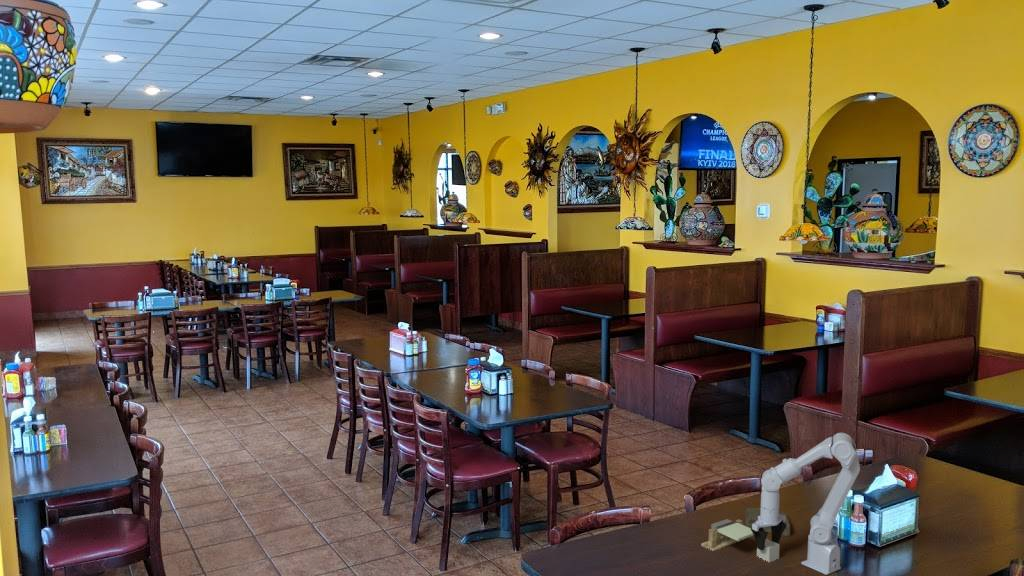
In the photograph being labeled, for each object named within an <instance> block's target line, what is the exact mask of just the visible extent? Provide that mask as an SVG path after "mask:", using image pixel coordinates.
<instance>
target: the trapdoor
mask: <svg viewBox="0 0 1024 576" xmlns="http://www.w3.org/2000/svg"><path fill="white" fill-rule="evenodd" d="M732 523H734V522H733V520H731V519H728V518H725V519H724V520H720V521H717V522H713V523H711V526H710V529H717V528H720V527H723V526H726V525H729V524H732ZM717 532H719V533H721V535H723V534H724V535H726V536H728V537H730V538H732V539H735V540H737V541H739V540H742V539H743V540H744V539H747V538H748V539H749V538H750V537H754V535H753V533H752V531H751V528H749V527H747V526H746V525H744V524H743V525H742V524H739V523H735V524H732V525H729V526H726V527H723V528H720V529H717ZM743 540H742V541H743ZM739 542H740V541H739Z"/></svg>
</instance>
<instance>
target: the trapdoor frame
mask: <svg viewBox="0 0 1024 576" xmlns="http://www.w3.org/2000/svg"><path fill="white" fill-rule="evenodd" d="M743 522H744V521H743V520H742V519H739V518H738V519H736V520H735V522H733V523H732V524H735V523H739V524H742V525H744V523H743ZM732 524H729V525H732ZM729 525H726V526H729ZM726 526H723V527H726ZM723 527H720V528H723ZM720 528H717V529H720ZM717 529H712V528H709V529H708V541H705V542H702V543H701V545H700V546H701V547H702V548H704V549H707V548H708V549H707V550H709V549H710V550H709V551H711V550H712V551H711V552H713V551H717V550H720V549H722V547H723V548H725V546H726V547H727V546H730V545H731V546H732V545H734V544H736V542H737V543H739V542H742V541H743V540H744V539H742V541H741V540H739V541H737V540H735V539H732V538H730V537H728V536H726V535H724V534H721V533H719V532H717Z"/></svg>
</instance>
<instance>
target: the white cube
mask: <svg viewBox="0 0 1024 576" xmlns="http://www.w3.org/2000/svg"><path fill="white" fill-rule="evenodd" d="M757 556H758V557H759V558H758V557H757ZM756 557H757V558H758V559H760V558H762V559H763V561H765V560H766V561H765V562H767V561H768V562H767V563H772V562H774V561H776V559H777V560H779V559H780V543H779V544H777V543H775V542H773V541H772V540H770V539H768V538H766V540H765V546H764V550H760V549H758V548H757V547H756ZM762 559H761V560H762ZM771 561H772V562H771Z"/></svg>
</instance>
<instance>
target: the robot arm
mask: <svg viewBox="0 0 1024 576" xmlns="http://www.w3.org/2000/svg"><path fill="white" fill-rule="evenodd" d="M857 451H858V450H857V446H856V444H855V441H854V440H853V438H852V437H851V436H850V435H849V434H847V433H845V432H837V433H836V434H834V435H833V436H829V437H827V438H826V439H824V440H823V441H822V442H820V443H818V444H816V445H815V446H814V447H812V448H811V449H809V450H808V451H806V452H805V453H803V454H802V455H800V456H798V457H797V458H791V457H789V458H788V459H787V458H783V459H782V462H781V463H779V464H778V465H776V466H771V467H770V469H767V470H765V471H764V472H763V473H762V476H761V480H760V481H761V492H760V508H761V510H760V516H758V520H757V521H756V522H755V523H753V524H752V527H751V531H752V533H753V537H754V540H755V545H756V549H757V548H758V549H760V550H764V546H765V540H766V539H767V537H768V534H769V533H768V532H766V531H764V529H763V528H764V527H767V526H771V532H772V533H771V541H773V542H775V543H777V544H780V540H781V538H782V533H783V531H784V530H785V528H786V527H787V524H785V523H783V522H785V519H786V517H787V515H786V516H785V515H782V514H779V511H780V492H779V491H780V488H781V486H782V485H781V484H785V483H787V482H788V481H791V480H792V479H794V478H796V477H798V476H799V475H801V474H802V470H803V468H805V467H807V466H808V465H810V464H812V463H814V462H816V461H818V460H820V459H822V458H827V459H831V460H832V459H833V458H834V457H835V459H836V460H837V461H838V462H839V463H840V465H841V467H842V468H841V470H840V472H839V474H838V476H837V478H836V479H835V482H834V483H833V485H832V488H831V490H829V491H830V492H829V493H828V496H827V497H826V499H825V501H824V503H823V505H822V507H820V509H819V510H818V512H817V513H816V514H814V515H813V516H812V517H811V519H810V531H809V534H808V537H807V538H808V539H807V555H806V556H807V557H806V558H807V559H806V560H803V561H801V562H800V563H801V565H803V566H805V567H808V568H810V569H812V570H814V571H817V572H818V573H822V574H823V575H825V576H826V575H829V574H832V573H835V572H836V571H839V570H841V569H842V567H841V547H840V546H839V545H837V544H836V543H835V542H834V541H833V537H832V530H833V527H834V525H835V521H836V519H837V516H838V514H839V512H840V511H841V508H842V506H843V504H844V502H845V501H846V498H847V496H848V495H849V494H850V491H851V488H852V487H853V485H854V483H855V481H856V480H857V477H858V475H859V473H860V471H861V468H860V467H861V466H860V461H859V456H858V452H857Z"/></svg>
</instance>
